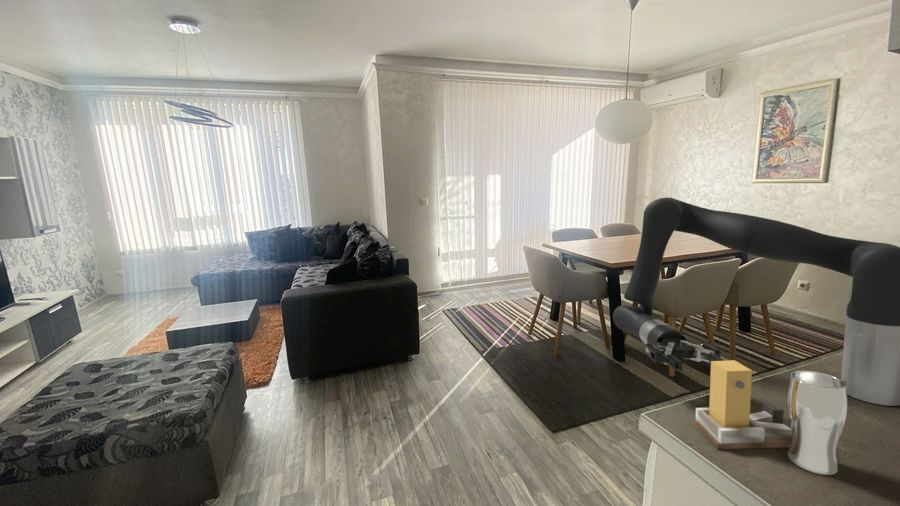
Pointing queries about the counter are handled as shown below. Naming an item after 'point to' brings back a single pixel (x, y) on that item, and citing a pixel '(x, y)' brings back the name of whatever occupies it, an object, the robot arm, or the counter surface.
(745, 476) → the counter surface
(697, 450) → the counter surface
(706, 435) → the coupling board
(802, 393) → the beer glass
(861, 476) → the counter surface
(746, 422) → the yellow knobbed block
